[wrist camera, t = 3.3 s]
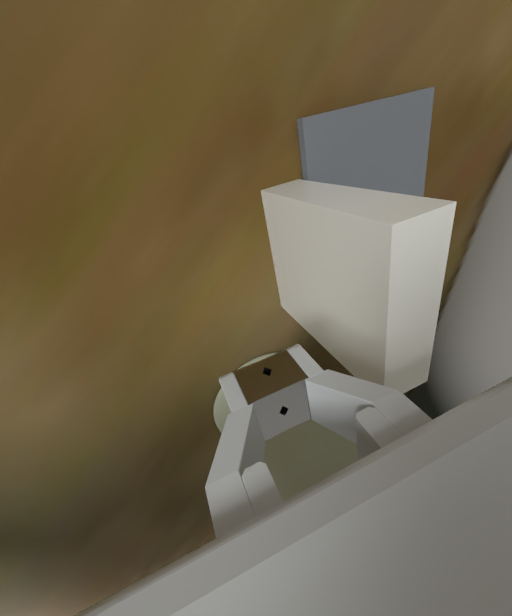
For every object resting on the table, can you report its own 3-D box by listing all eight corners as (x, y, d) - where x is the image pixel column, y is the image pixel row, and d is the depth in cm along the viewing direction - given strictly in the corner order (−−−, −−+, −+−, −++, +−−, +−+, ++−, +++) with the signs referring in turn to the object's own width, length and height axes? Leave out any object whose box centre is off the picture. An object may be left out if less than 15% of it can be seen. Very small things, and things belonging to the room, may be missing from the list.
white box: (281, 306, 21) (383, 404, 13) (260, 190, 17) (392, 225, 9) (313, 293, 22) (430, 379, 13) (301, 178, 17) (461, 200, 9)
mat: (318, 326, 23) (322, 329, 23) (296, 119, 16) (302, 118, 15) (408, 287, 25) (413, 290, 25) (426, 88, 18) (434, 86, 17)
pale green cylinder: (231, 346, 21) (329, 519, 11) (329, 354, 25) (462, 483, 15) (200, 442, 24) (254, 645, 14) (292, 434, 28) (383, 585, 18)
